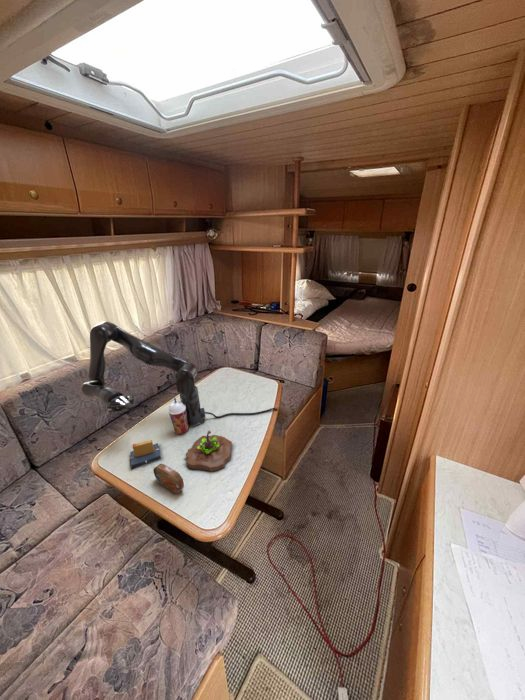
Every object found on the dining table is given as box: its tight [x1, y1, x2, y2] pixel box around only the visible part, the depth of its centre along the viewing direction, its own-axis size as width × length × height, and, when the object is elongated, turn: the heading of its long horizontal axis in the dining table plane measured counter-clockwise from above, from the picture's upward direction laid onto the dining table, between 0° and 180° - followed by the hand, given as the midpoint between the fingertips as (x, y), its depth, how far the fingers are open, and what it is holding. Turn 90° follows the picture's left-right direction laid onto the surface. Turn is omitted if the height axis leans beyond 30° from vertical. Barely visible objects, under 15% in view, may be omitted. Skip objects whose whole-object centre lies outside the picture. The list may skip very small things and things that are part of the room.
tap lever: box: [131, 439, 154, 457], centre depth 121 cm, size 8×2×6 cm, turn 110°
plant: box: [185, 430, 233, 472], centre depth 122 cm, size 20×20×11 cm
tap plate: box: [129, 442, 162, 470], centre depth 123 cm, size 12×12×2 cm
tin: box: [153, 463, 185, 494], centre depth 108 cm, size 15×3×8 cm, turn 58°
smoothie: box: [167, 397, 189, 435], centre depth 135 cm, size 8×8×20 cm
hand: (132, 408), depth 121 cm, fingers closed
